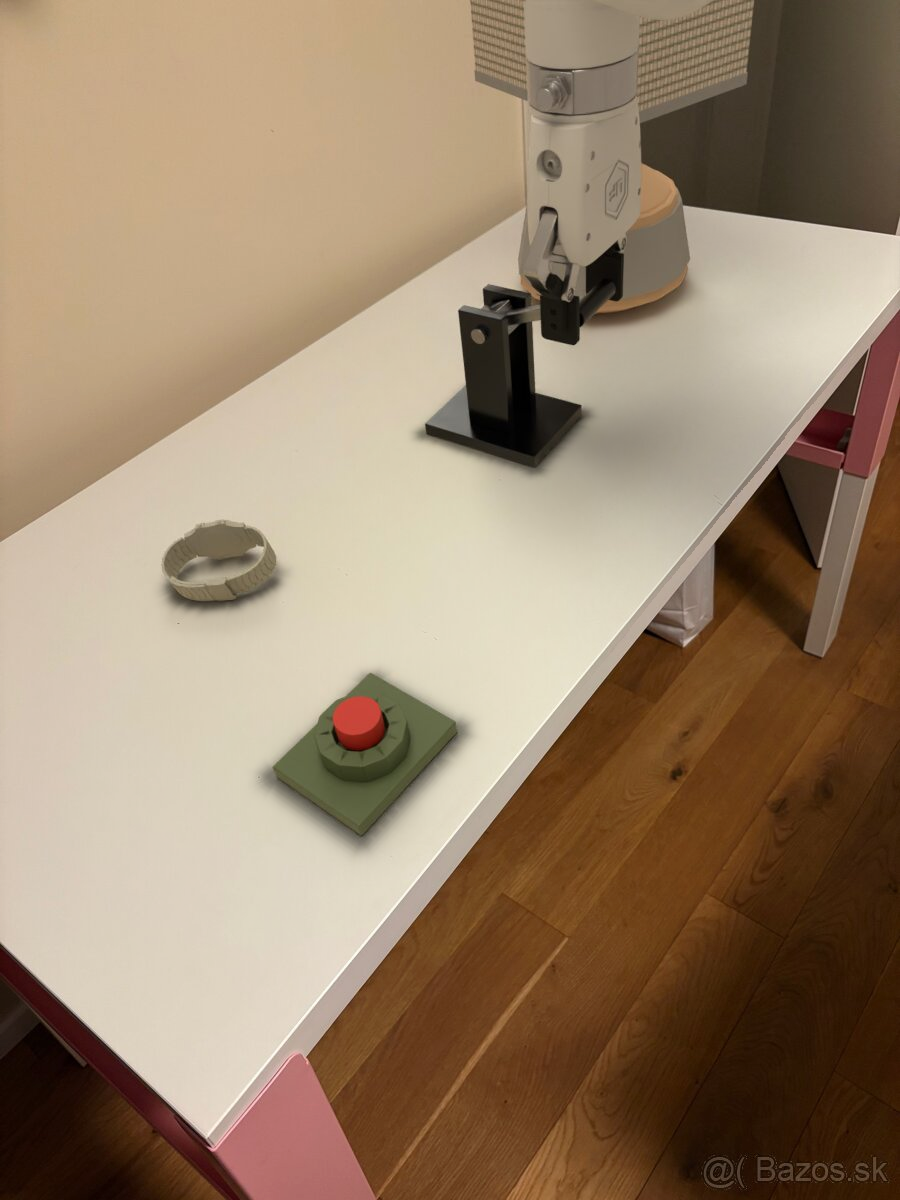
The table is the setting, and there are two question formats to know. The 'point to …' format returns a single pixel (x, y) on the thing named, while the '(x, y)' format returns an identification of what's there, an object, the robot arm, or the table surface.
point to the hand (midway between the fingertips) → (582, 316)
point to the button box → (366, 756)
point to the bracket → (501, 389)
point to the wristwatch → (219, 544)
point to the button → (359, 723)
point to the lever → (532, 313)
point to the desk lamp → (665, 83)
